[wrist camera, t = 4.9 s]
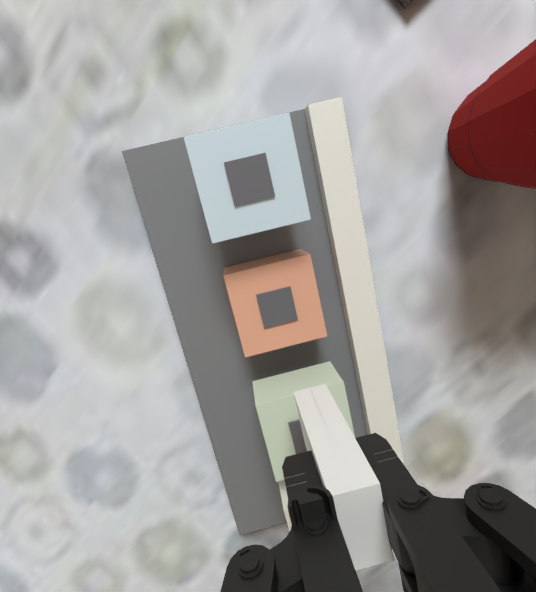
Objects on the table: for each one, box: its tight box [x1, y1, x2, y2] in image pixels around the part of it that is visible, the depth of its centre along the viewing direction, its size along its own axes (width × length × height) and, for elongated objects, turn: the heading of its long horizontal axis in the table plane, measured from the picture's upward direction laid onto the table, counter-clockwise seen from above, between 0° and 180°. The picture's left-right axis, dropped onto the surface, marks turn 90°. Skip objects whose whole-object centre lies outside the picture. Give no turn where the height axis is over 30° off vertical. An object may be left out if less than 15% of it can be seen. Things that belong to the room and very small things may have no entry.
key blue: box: [184, 112, 311, 243], centre depth 20 cm, size 5×5×3 cm
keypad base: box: [122, 97, 405, 535], centre depth 26 cm, size 28×13×3 cm, turn 13°
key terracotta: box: [223, 249, 327, 357], centre depth 23 cm, size 5×5×3 cm
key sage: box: [252, 361, 355, 482], centre depth 23 cm, size 5×5×3 cm
